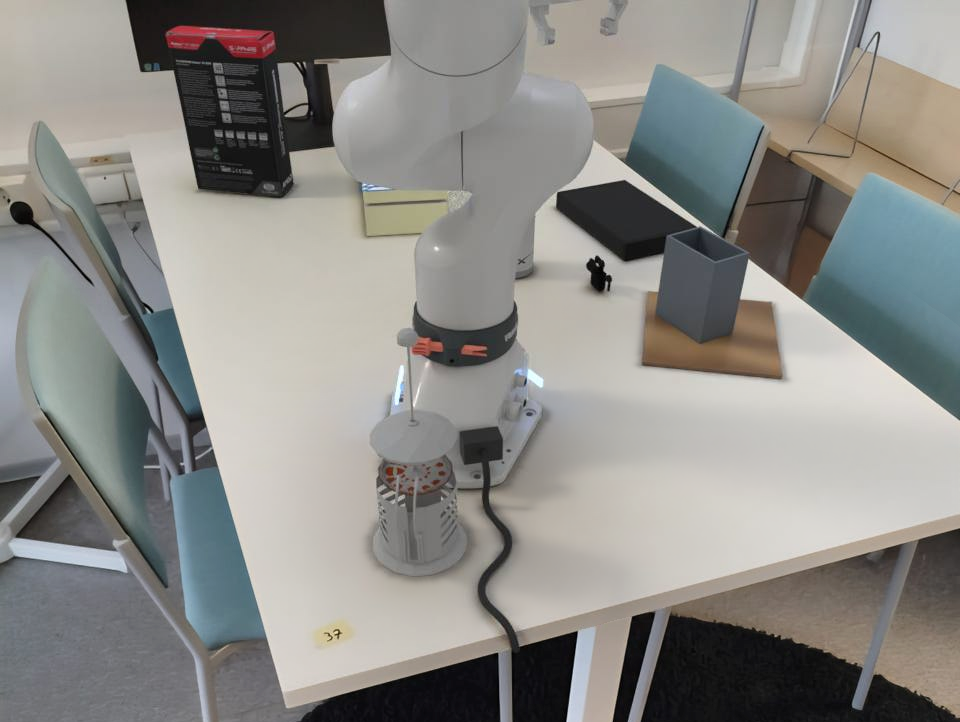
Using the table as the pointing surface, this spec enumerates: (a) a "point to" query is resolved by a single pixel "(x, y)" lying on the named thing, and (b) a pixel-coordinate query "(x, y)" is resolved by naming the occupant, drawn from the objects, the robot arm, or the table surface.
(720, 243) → the grey basket
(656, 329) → the cork pad
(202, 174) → the graphics card box
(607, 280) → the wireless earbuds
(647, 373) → the table surface
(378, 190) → the cream box
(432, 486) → the french press
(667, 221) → the external hard drive
